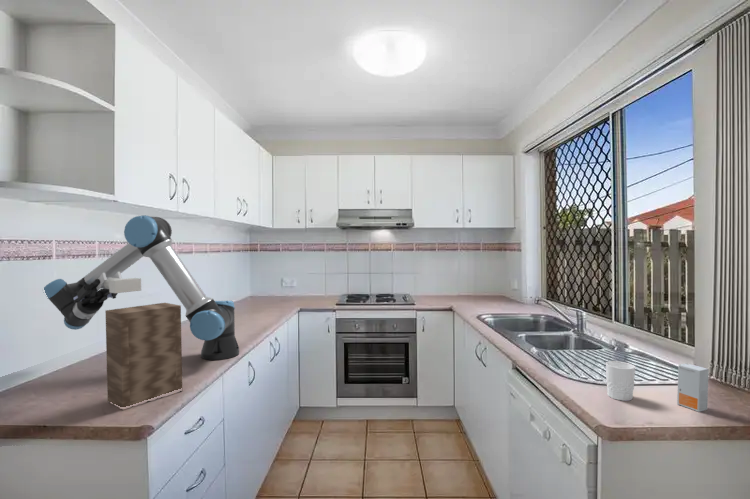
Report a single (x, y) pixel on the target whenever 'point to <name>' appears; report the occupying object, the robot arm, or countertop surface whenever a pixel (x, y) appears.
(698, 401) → the skincare box
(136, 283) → the knob
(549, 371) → the countertop surface
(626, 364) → the white cup
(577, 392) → the countertop surface
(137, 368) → the open wooden box
